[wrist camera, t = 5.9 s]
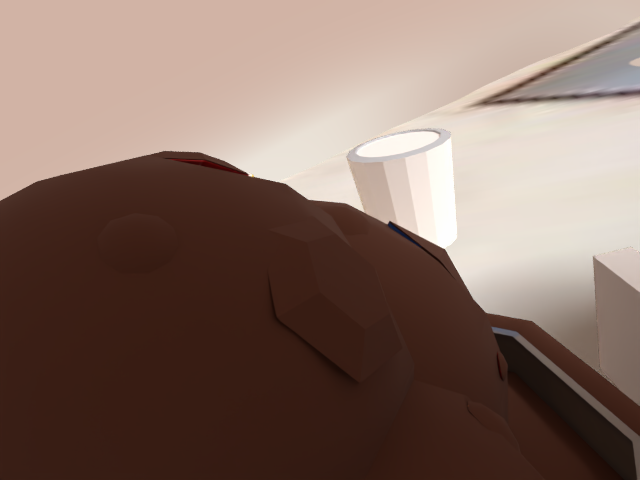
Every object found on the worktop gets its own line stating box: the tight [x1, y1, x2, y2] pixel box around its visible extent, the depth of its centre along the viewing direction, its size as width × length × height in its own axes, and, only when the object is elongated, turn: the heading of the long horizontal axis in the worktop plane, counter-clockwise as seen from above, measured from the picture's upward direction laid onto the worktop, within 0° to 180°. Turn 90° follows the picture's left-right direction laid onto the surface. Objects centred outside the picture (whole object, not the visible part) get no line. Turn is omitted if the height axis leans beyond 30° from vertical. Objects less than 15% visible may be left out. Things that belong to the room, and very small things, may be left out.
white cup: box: [347, 128, 457, 249], centre depth 37 cm, size 7×7×7 cm
